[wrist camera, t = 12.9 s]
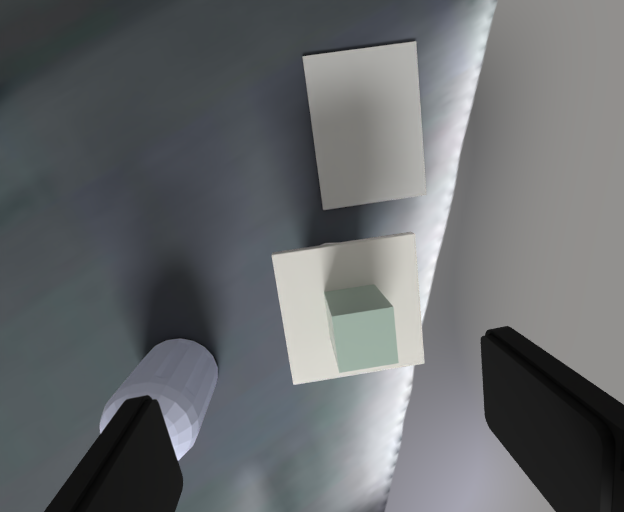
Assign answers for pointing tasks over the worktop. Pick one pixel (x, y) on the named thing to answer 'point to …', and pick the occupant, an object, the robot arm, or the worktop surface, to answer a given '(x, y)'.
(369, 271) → the lid
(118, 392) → the soap bottle
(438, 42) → the worktop surface
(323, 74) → the mat
